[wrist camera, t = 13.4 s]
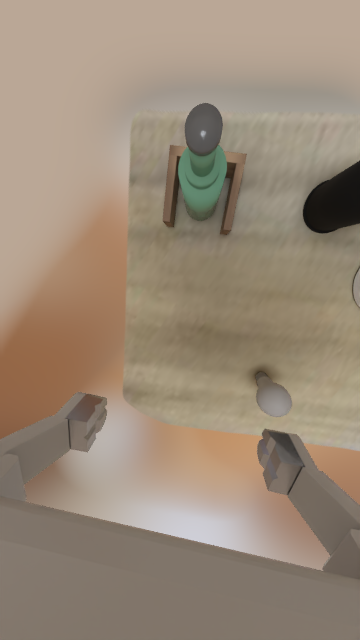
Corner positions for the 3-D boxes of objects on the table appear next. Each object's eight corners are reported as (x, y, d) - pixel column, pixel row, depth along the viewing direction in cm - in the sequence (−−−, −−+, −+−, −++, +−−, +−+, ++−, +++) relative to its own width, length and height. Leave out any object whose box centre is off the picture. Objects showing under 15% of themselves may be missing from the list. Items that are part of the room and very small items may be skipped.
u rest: (239, 170, 31) (246, 153, 26) (226, 234, 34) (230, 230, 30) (174, 162, 32) (170, 145, 27) (167, 226, 35) (162, 220, 30)
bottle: (219, 188, 32) (247, 84, 13) (213, 222, 34) (230, 174, 15) (188, 184, 33) (173, 76, 14) (183, 218, 34) (165, 165, 16)
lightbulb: (249, 388, 44) (265, 427, 33) (244, 366, 42) (259, 400, 32) (275, 383, 43) (300, 422, 32) (271, 361, 41) (296, 394, 31)
